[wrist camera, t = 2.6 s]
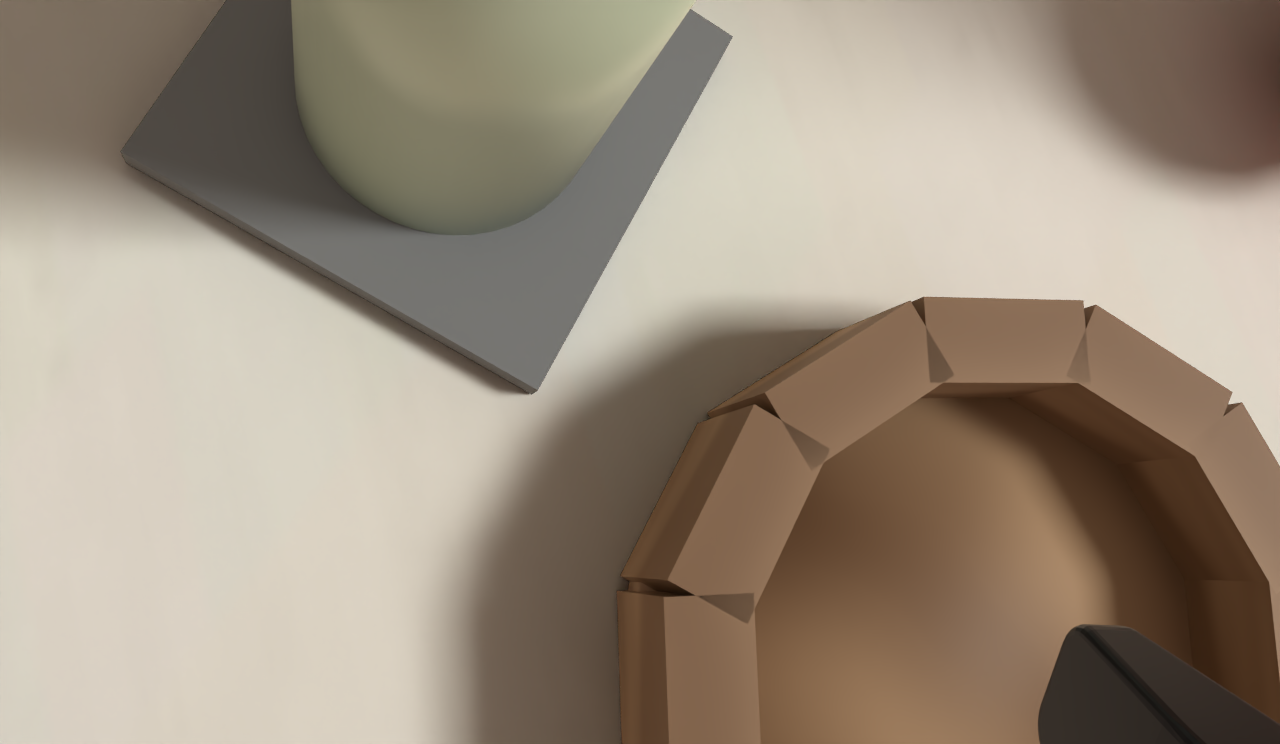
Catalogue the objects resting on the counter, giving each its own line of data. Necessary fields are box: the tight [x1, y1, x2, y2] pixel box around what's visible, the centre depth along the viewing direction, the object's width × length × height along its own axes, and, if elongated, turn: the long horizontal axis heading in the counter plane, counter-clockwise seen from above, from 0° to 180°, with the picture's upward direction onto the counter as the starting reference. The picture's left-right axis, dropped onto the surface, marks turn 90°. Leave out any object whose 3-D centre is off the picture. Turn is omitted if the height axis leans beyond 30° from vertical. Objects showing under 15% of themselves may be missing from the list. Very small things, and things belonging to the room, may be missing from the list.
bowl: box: [617, 297, 1280, 744], centre depth 21 cm, size 13×13×3 cm
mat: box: [121, 0, 733, 394], centre depth 21 cm, size 8×8×1 cm
